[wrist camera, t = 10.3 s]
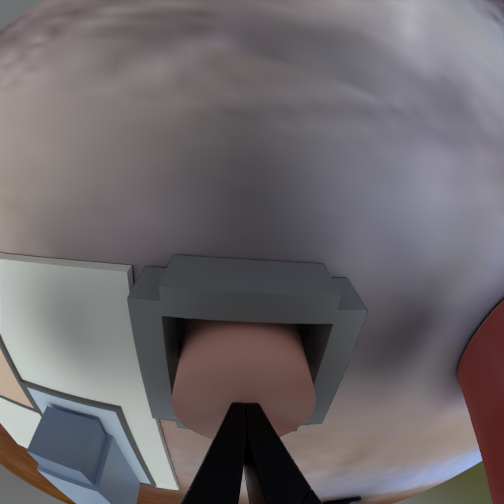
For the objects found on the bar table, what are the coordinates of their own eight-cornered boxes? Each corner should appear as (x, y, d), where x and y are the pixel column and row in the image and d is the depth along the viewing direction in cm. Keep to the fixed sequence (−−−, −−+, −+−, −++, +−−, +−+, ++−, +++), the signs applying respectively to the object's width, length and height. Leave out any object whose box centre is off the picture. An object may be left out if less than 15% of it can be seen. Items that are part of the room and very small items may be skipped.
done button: (289, 384, 12) (299, 441, 9) (186, 380, 12) (178, 438, 9) (310, 301, 10) (332, 361, 7) (181, 294, 10) (163, 355, 7)
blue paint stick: (140, 482, 16) (133, 523, 13) (94, 471, 16) (84, 509, 13) (103, 417, 12) (85, 478, 9) (44, 400, 12) (20, 453, 8)
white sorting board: (179, 485, 18) (178, 492, 17) (19, 440, 17) (17, 445, 16) (131, 265, 10) (124, 275, 9) (-82, 242, 8) (-89, 247, 8)
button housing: (311, 396, 13) (318, 429, 11) (161, 390, 12) (154, 424, 10) (350, 265, 10) (372, 296, 8) (143, 252, 9) (124, 282, 8)
